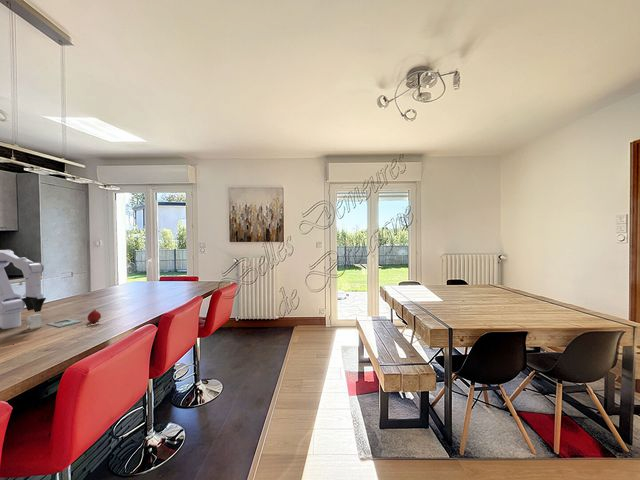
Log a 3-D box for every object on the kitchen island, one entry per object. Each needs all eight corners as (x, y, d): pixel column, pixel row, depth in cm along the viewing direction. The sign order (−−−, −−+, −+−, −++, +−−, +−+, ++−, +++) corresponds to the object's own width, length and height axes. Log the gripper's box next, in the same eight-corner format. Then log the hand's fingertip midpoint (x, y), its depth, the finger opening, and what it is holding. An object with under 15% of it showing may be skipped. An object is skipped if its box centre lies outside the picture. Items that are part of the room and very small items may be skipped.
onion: (93, 325, 151) (92, 311, 151) (85, 324, 152) (84, 310, 152) (103, 322, 156) (103, 308, 156) (95, 321, 158) (95, 308, 157)
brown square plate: (18, 331, 142) (18, 329, 142) (41, 326, 150) (41, 324, 150) (27, 333, 138) (26, 331, 138) (50, 328, 147) (50, 326, 147)
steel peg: (26, 328, 143) (26, 315, 143) (38, 326, 147) (37, 313, 147) (30, 329, 141) (30, 316, 141) (42, 327, 145) (41, 314, 145)
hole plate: (46, 326, 150) (46, 323, 150) (68, 320, 159) (68, 318, 159) (59, 329, 145) (59, 326, 145) (82, 323, 154) (82, 320, 154)
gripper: (16, 286, 143) (17, 311, 143) (29, 287, 137) (30, 314, 138) (34, 283, 150) (35, 308, 150) (47, 285, 144) (48, 310, 144)
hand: (34, 311), depth 144 cm, fingers open, 7 cm apart
